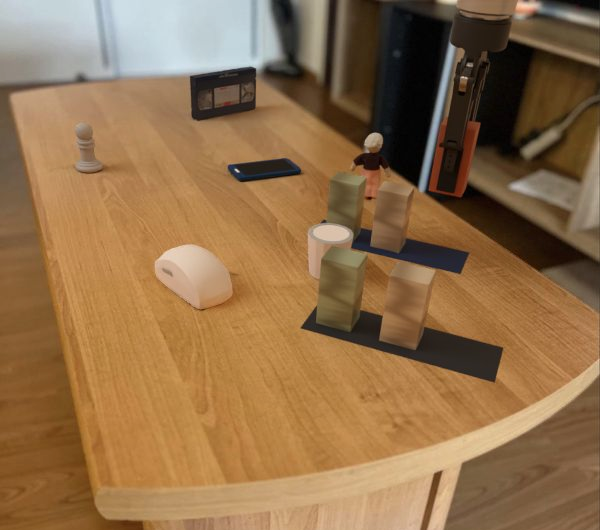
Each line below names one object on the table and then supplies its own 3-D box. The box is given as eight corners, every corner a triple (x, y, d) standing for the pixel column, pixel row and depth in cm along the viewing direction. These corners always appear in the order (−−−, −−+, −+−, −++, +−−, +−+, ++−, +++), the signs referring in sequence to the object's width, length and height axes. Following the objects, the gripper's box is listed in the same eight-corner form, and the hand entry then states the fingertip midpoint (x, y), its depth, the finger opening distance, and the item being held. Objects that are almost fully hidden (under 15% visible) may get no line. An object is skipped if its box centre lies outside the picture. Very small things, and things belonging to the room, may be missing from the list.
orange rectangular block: (466, 188, 97) (480, 122, 91) (461, 197, 94) (476, 130, 88) (434, 181, 99) (446, 116, 93) (428, 190, 96) (440, 124, 90)
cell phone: (226, 168, 130) (226, 164, 129) (287, 160, 135) (288, 157, 134) (239, 181, 124) (239, 177, 124) (302, 173, 130) (302, 169, 129)
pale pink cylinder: (299, 279, 96) (301, 237, 92) (312, 259, 101) (315, 218, 97) (342, 288, 94) (346, 247, 90) (354, 267, 100) (359, 227, 95)
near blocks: (422, 334, 85) (436, 270, 79) (415, 350, 82) (429, 284, 76) (325, 308, 89) (331, 245, 83) (315, 323, 86) (320, 258, 80)
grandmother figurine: (385, 196, 123) (395, 131, 115) (387, 204, 120) (397, 138, 112) (346, 194, 123) (353, 128, 115) (347, 202, 120) (353, 135, 112)
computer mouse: (187, 263, 98) (184, 226, 94) (238, 299, 91) (238, 261, 87) (150, 276, 94) (147, 238, 91) (201, 315, 87) (199, 275, 83)
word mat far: (468, 254, 105) (469, 252, 105) (459, 276, 99) (460, 273, 99) (323, 221, 112) (323, 219, 112) (306, 239, 106) (306, 237, 106)
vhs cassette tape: (196, 121, 153) (194, 77, 147) (190, 117, 155) (187, 74, 149) (257, 109, 163) (257, 68, 157) (250, 106, 165) (250, 65, 159)
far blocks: (405, 243, 106) (414, 186, 100) (399, 253, 103) (408, 195, 97) (332, 226, 110) (338, 171, 104) (325, 236, 107) (329, 179, 101)
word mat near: (502, 349, 84) (503, 347, 84) (493, 384, 78) (494, 382, 78) (320, 301, 91) (321, 299, 91) (299, 330, 85) (300, 328, 85)
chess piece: (97, 174, 124) (91, 128, 118) (71, 172, 124) (63, 125, 119) (107, 164, 128) (101, 119, 123) (82, 162, 128) (74, 117, 123)
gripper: (467, 2, 90) (436, 162, 104) (441, 20, 77) (410, 200, 91) (520, 8, 88) (482, 171, 102) (504, 28, 75) (462, 211, 89)
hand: (448, 185), depth 96 cm, fingers closed on orange rectangular block, 4 cm apart
